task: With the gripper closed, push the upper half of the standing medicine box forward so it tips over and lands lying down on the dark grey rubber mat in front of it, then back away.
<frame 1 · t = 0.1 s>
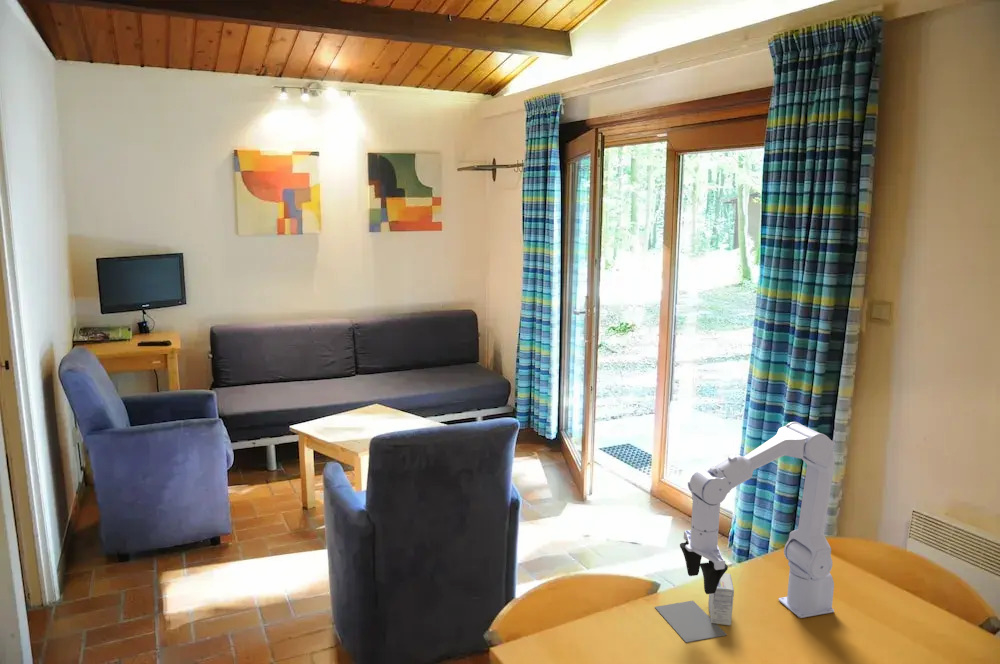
hand: (701, 583, 161), 10 cm above the table, tool pointing down, fingers open, 7 cm apart
grey mat: (689, 621, 165), on the table
medicine box: (718, 616, 167), on the table, touching grey mat
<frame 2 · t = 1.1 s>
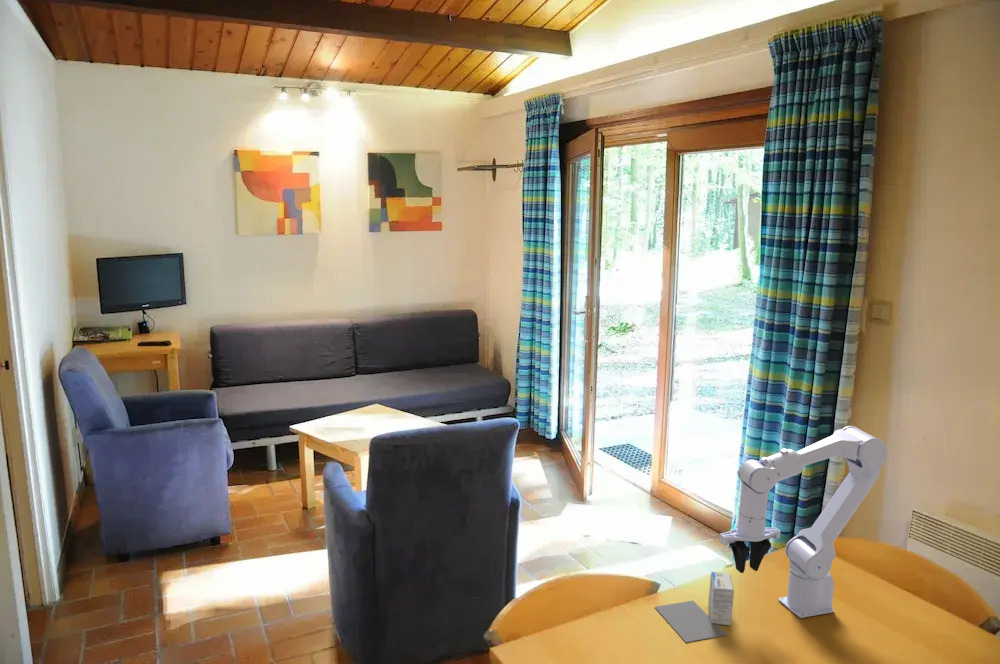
hand: (746, 569, 167), 10 cm above the table, tool pointing down, fingers open, 3 cm apart
nothing on the table moved.
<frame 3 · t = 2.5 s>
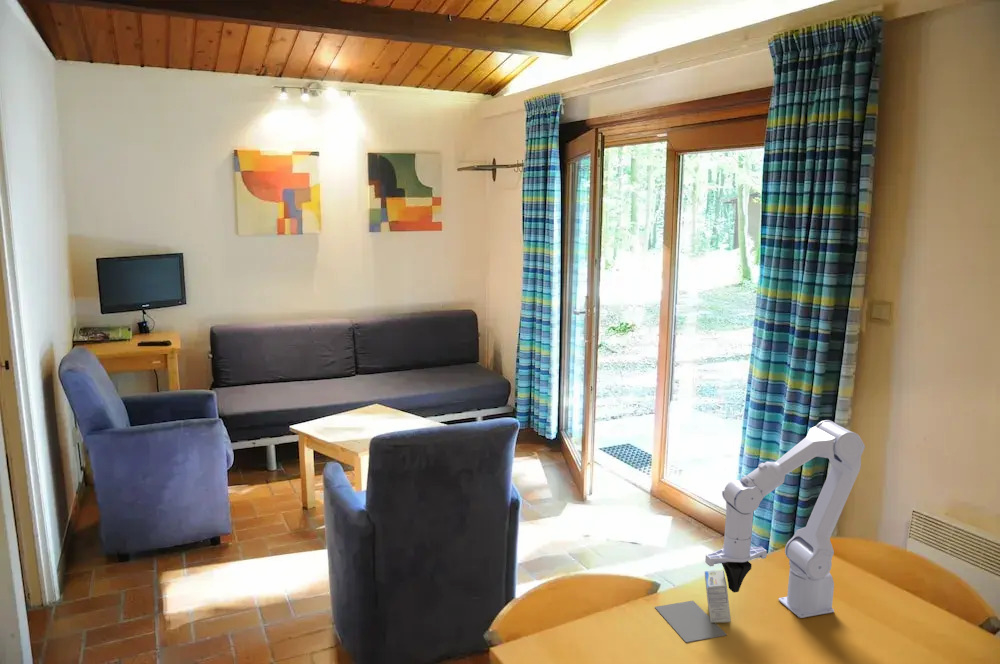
hand: (733, 589, 167), 6 cm above the table, tool pointing down, fingers closed
medicine box: (719, 614, 167), on the table, touching grey mat, gripper
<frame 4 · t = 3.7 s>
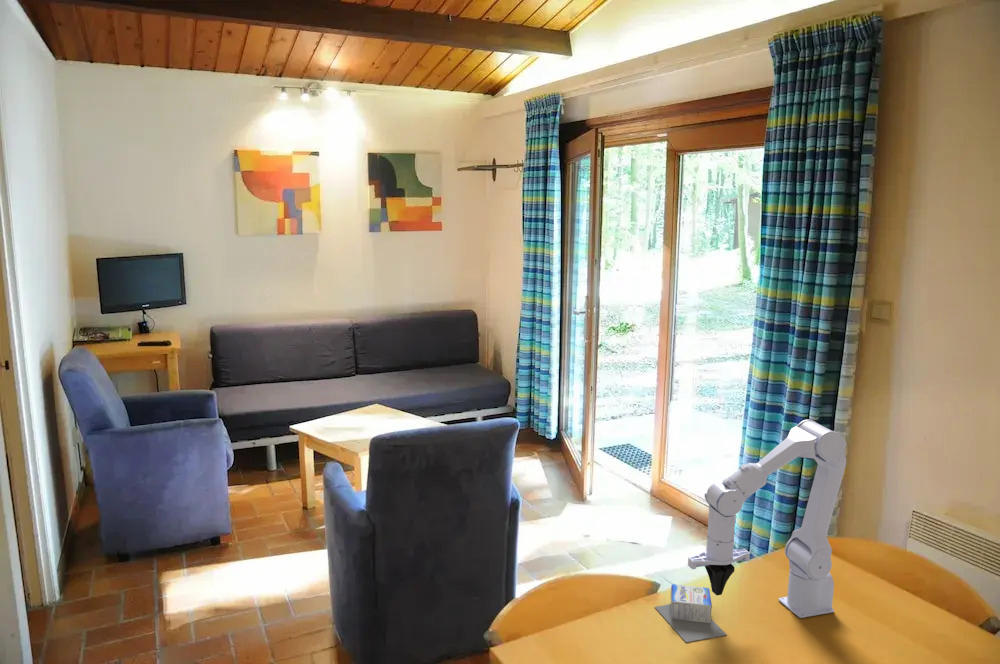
hand: (716, 592, 165), 6 cm above the table, tool pointing down, fingers closed
medicine box: (711, 605, 167), point 2 cm above the table, touching grey mat
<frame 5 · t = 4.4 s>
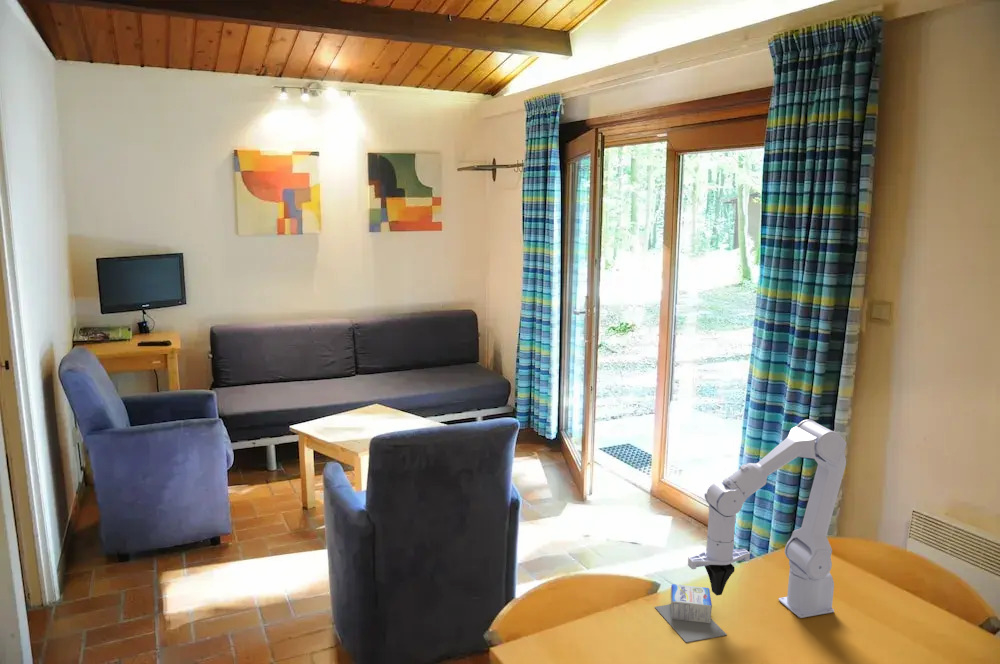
hand: (716, 592, 165), 6 cm above the table, tool pointing down, fingers closed
nothing on the table moved.
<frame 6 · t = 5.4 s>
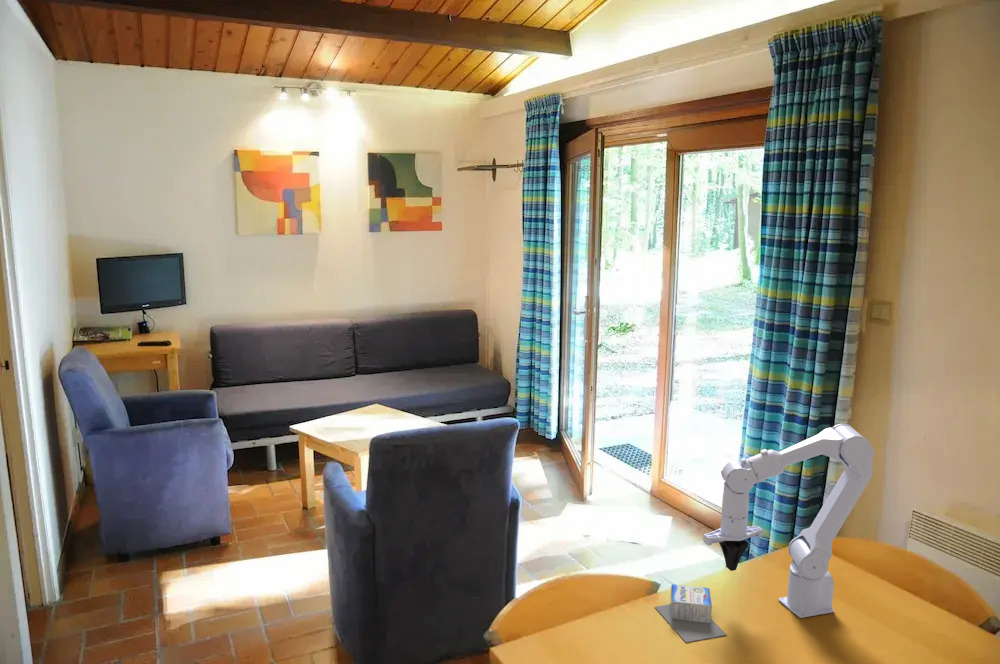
hand: (731, 568, 171), 9 cm above the table, tool pointing down, fingers closed
nothing on the table moved.
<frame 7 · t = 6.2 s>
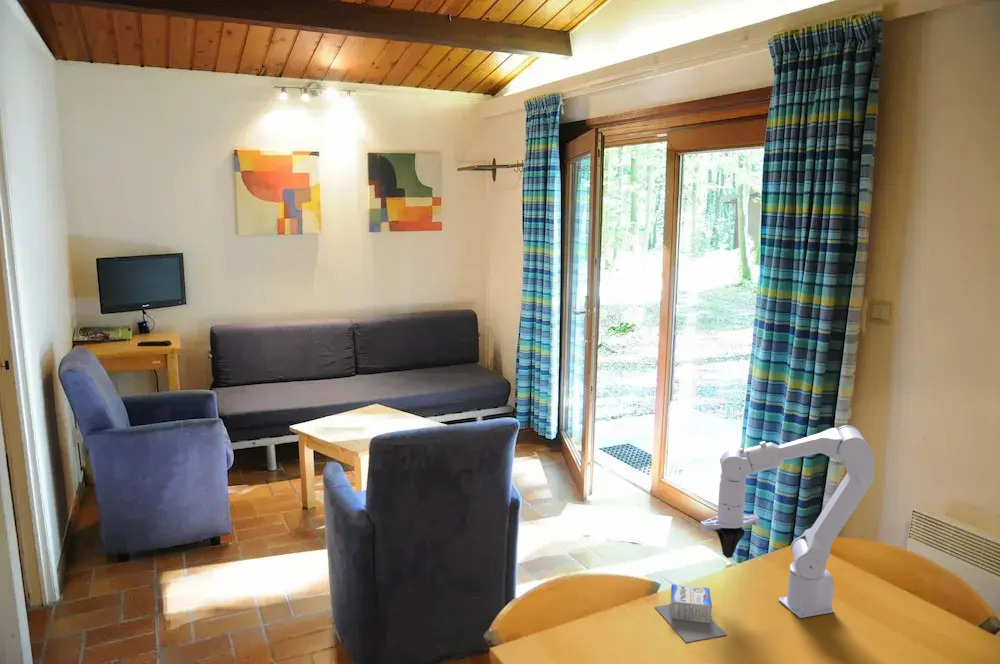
hand: (727, 555, 173), 10 cm above the table, tool pointing down, fingers closed
nothing on the table moved.
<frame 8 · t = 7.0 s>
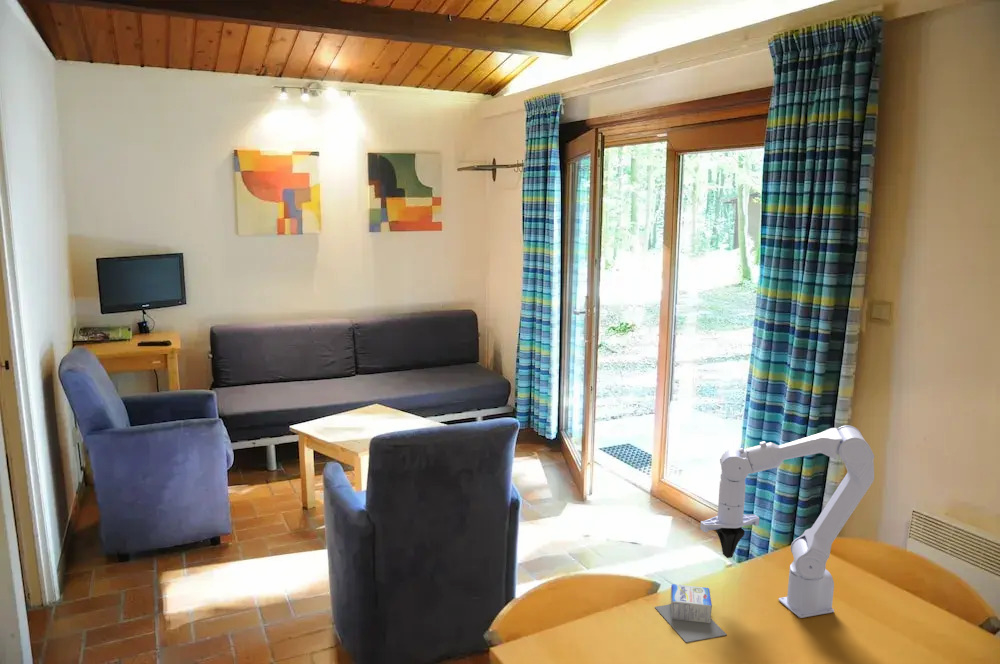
hand: (727, 555, 173), 10 cm above the table, tool pointing down, fingers closed
nothing on the table moved.
at the end: medicine box tilted 89°; medicine box inside the target area (5.4 cm from its centre), point 2.3 cm above the table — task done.
